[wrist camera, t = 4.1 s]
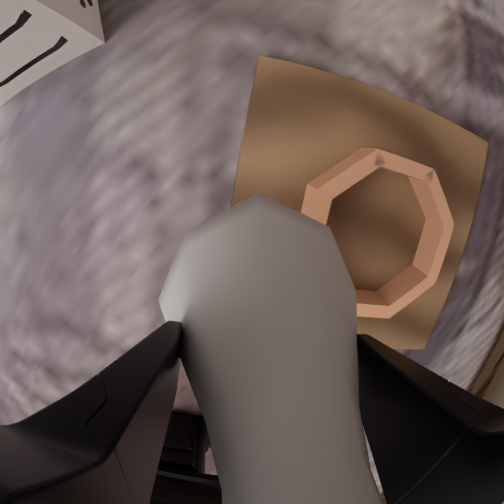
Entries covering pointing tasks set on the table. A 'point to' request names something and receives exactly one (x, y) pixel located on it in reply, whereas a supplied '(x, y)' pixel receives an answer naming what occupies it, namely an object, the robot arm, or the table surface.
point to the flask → (272, 355)
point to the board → (367, 189)
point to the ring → (432, 236)
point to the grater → (44, 38)
